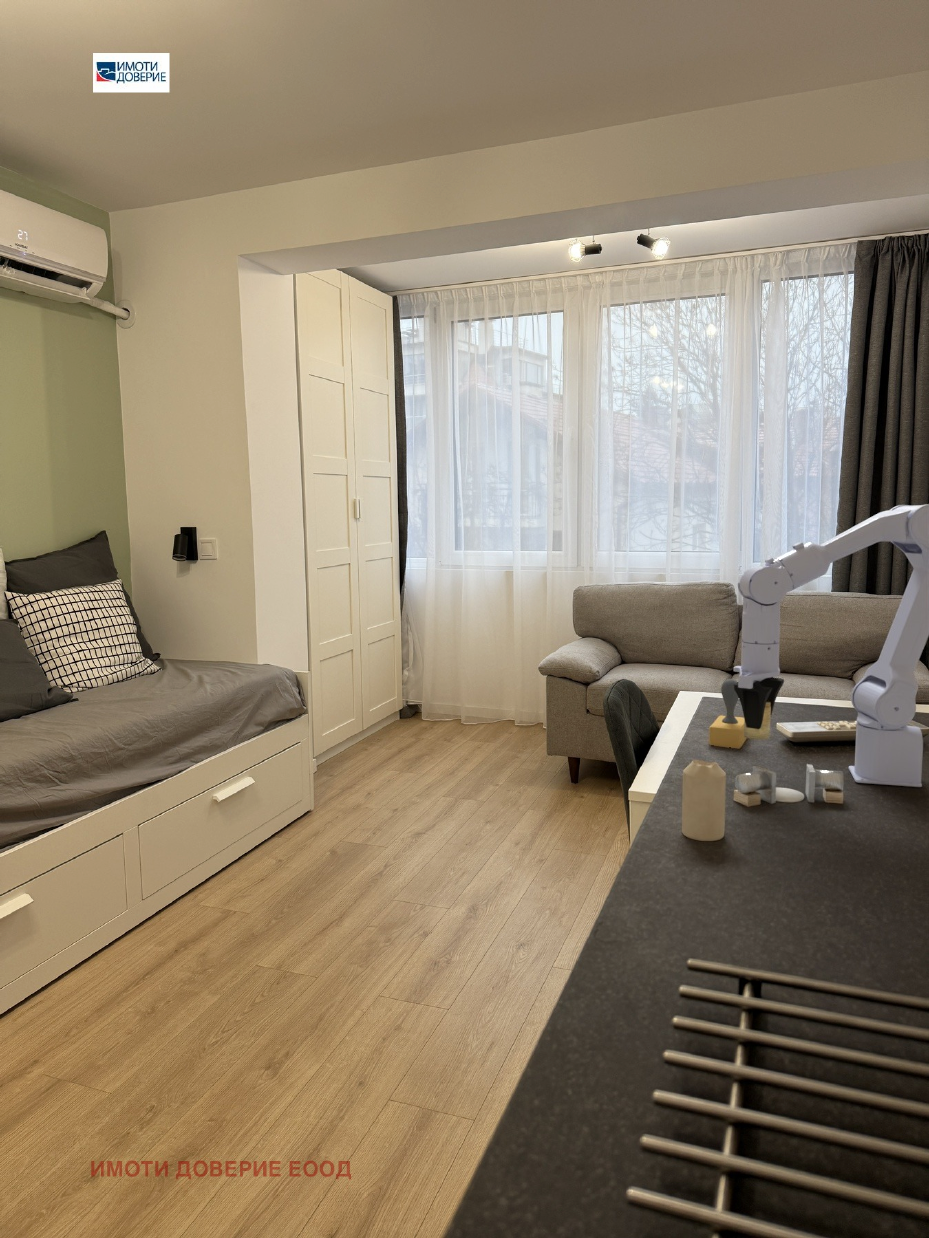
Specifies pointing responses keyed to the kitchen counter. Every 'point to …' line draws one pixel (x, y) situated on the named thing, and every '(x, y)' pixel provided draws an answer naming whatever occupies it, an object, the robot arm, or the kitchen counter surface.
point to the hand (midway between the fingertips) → (757, 724)
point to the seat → (788, 795)
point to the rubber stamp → (728, 721)
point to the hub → (765, 727)
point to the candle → (703, 801)
